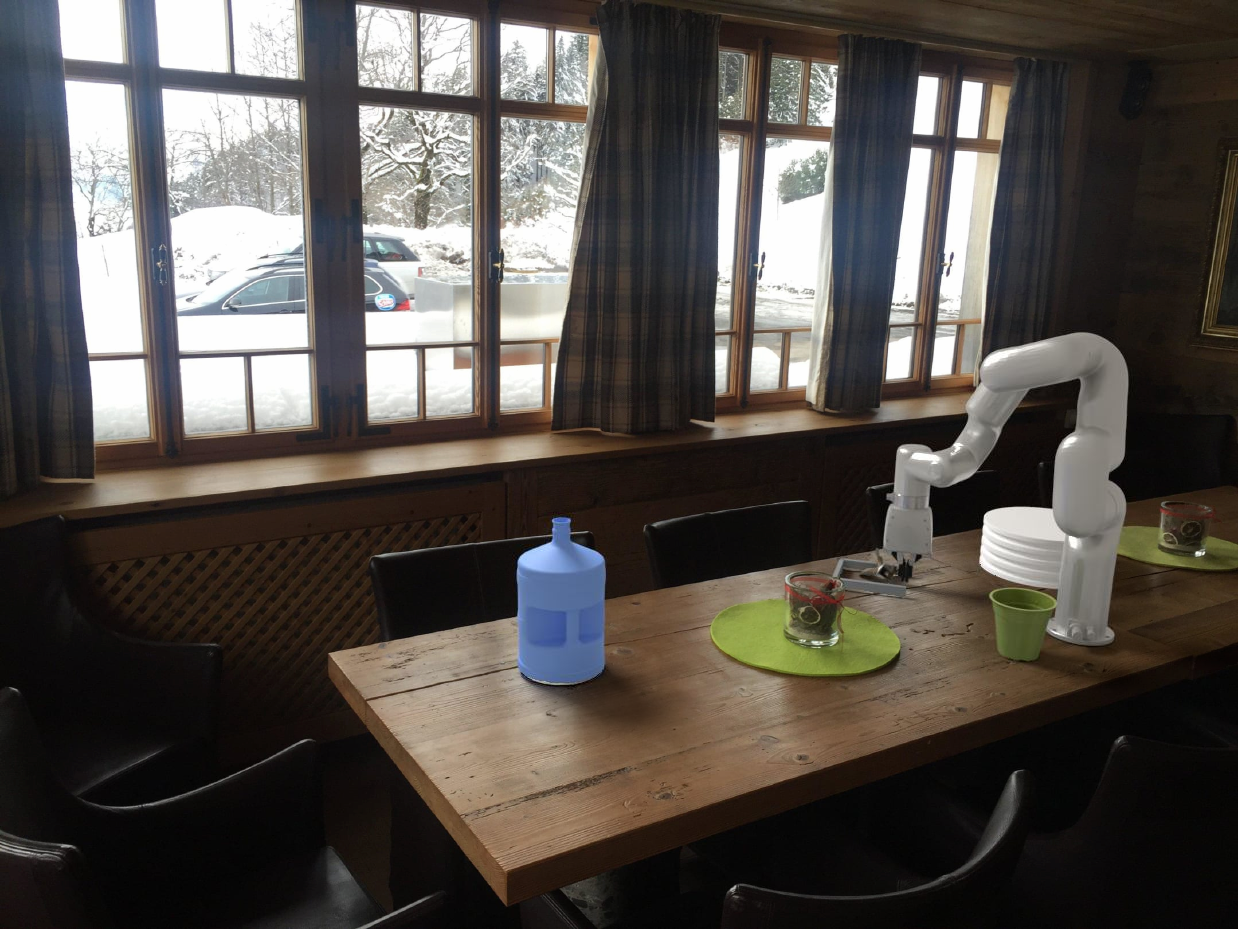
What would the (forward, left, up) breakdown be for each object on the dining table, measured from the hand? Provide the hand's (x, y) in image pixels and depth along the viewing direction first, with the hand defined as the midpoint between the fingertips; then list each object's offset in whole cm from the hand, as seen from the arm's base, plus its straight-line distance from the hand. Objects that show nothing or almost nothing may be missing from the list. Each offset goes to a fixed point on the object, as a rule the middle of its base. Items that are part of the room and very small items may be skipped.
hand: (904, 579), depth 224 cm
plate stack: (+25, -30, -2) cm, 39 cm away
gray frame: (0, +7, -2) cm, 7 cm away
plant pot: (-30, -23, -2) cm, 38 cm away
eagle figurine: (+3, +6, -2) cm, 7 cm away
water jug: (-67, +55, -2) cm, 87 cm away
